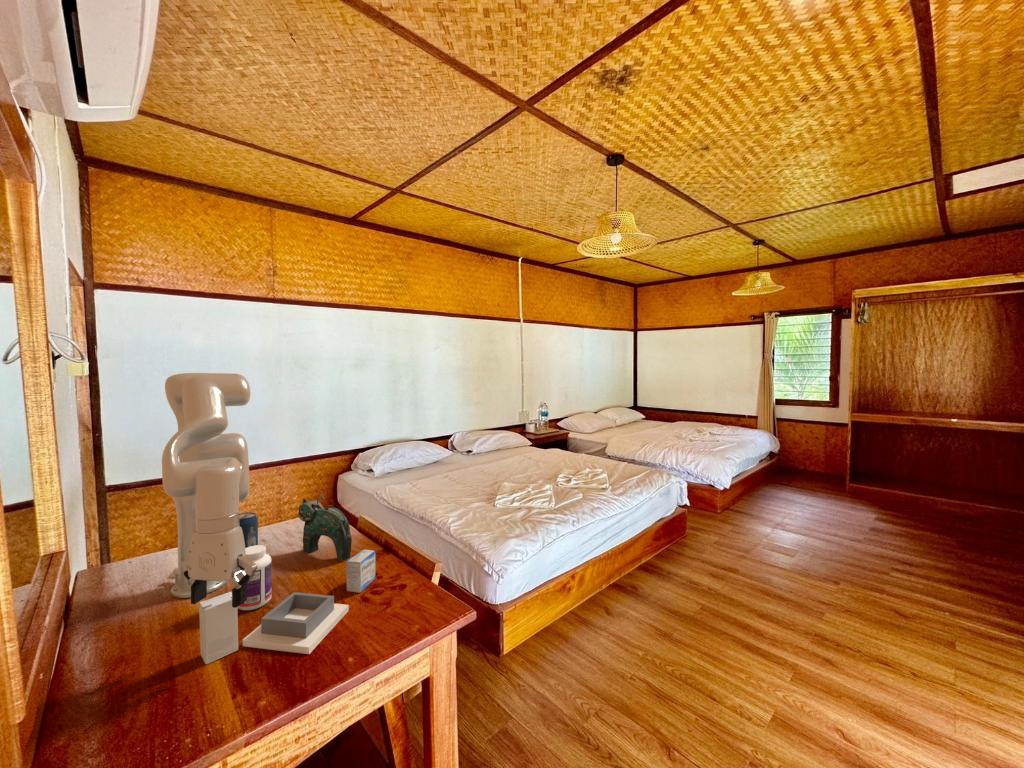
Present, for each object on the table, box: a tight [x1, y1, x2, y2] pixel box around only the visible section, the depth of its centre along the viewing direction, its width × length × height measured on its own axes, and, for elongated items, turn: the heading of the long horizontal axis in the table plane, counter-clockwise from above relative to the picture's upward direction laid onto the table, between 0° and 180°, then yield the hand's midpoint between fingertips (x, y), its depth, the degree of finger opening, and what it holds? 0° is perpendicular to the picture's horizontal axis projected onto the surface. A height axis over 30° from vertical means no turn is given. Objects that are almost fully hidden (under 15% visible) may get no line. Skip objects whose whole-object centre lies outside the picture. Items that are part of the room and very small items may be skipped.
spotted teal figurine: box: [298, 494, 353, 562], centre depth 134 cm, size 20×6×20 cm, turn 67°
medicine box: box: [346, 549, 376, 594], centre depth 115 cm, size 8×4×9 cm, turn 168°
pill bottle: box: [236, 544, 273, 611], centre depth 105 cm, size 8×8×14 cm
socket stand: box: [242, 591, 350, 655], centre depth 96 cm, size 16×16×5 cm
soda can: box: [239, 512, 259, 548], centre depth 136 cm, size 7×7×12 cm
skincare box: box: [198, 591, 239, 665], centre depth 87 cm, size 6×4×12 cm
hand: (219, 602), depth 86 cm, fingers open, 9 cm apart
